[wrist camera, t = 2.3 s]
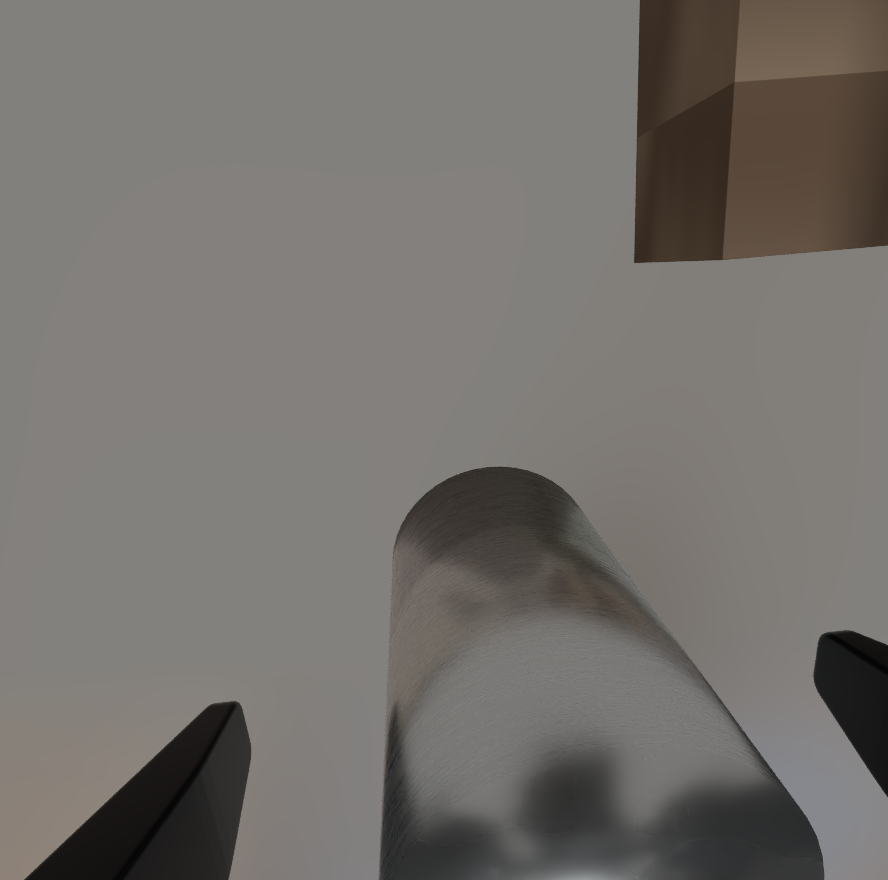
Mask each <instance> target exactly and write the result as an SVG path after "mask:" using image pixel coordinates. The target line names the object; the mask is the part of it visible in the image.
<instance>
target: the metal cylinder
mask: <svg viewBox="0 0 888 880" xmlns="http://www.w3.org/2000/svg"><path fill="white" fill-rule="evenodd" d="M386 703H387V704H386V726H385V748H384V749H385V750H384V772H383V797H382V818H381V839H380V842H381V843H380V862H379V863H380V864H379V880H824V867H823V857H822V853H821V849H820V846H819V842H818V839H817V836H816V834H815V832H814V830H813V828H812V826H811V825H810V823H809V821H808V819H807V817H806V816H805V815H804V813H803V811H802V810H801V809H800V807H799V806H798V805H797V803H796V802H795V801H794V799H793V798H792V797H791V795H790V794H789V792H788V791H787V790H786V788H785V787H784V786H783V784H782V783H781V782H780V780H779V779H778V777H777V776H776V775H775V773H774V772H773V771H772V769H771V768H770V767H769V765H768V764H767V762H766V761H765V760H764V758H763V757H762V756H761V754H760V753H759V752H758V750H757V749H756V747H755V746H754V745H753V743H752V742H751V741H750V739H749V738H748V737H747V735H746V734H745V732H744V731H743V730H742V728H741V727H740V726H739V724H738V723H737V722H736V720H735V719H734V717H733V716H732V715H731V713H730V712H729V711H728V710H727V708H726V707H725V705H724V704H723V703H722V701H721V700H720V699H719V697H718V696H717V694H716V693H715V692H714V690H713V689H712V688H711V686H710V685H709V683H708V682H707V681H706V679H705V678H704V677H703V675H702V674H701V673H700V671H699V670H698V669H697V667H696V666H695V664H694V663H693V662H692V660H691V659H690V658H689V656H688V655H687V653H686V652H685V651H684V649H683V648H682V647H681V645H680V644H679V643H678V641H677V640H676V638H675V637H674V636H673V634H672V633H671V632H670V630H669V629H668V628H667V626H666V625H665V623H664V622H663V621H662V619H661V618H660V617H659V615H658V614H657V613H656V611H655V610H654V609H653V607H652V606H651V605H650V603H649V602H648V600H647V599H646V598H645V596H644V595H643V594H642V592H641V591H640V590H639V588H638V587H637V585H636V584H635V583H634V581H633V580H632V579H631V577H630V576H629V575H628V573H627V572H626V570H625V569H624V568H623V566H622V565H621V564H620V562H619V561H618V559H617V558H616V557H615V555H614V554H613V553H612V551H611V550H610V549H609V547H608V546H607V544H606V543H605V542H604V541H603V539H602V538H601V537H600V535H599V534H598V532H597V531H596V530H595V528H594V527H593V525H592V524H591V523H590V522H589V520H588V519H587V517H586V516H585V515H584V513H583V512H582V511H581V509H580V508H579V506H578V505H577V504H576V503H575V501H574V500H573V499H572V497H571V496H570V495H569V494H567V493H566V492H565V491H564V490H563V489H562V488H561V487H559V486H558V485H557V484H555V483H554V482H552V481H550V480H549V479H547V478H545V477H543V476H541V475H539V474H535V473H533V472H530V471H527V470H522V469H518V468H510V467H487V468H481V469H474V470H471V471H467V472H464V473H461V474H459V475H456V476H453V477H451V478H449V479H447V480H446V481H443V482H442V483H440V484H438V485H437V486H435V487H434V488H433V489H432V490H430V491H429V492H427V493H426V494H425V495H424V496H423V497H422V498H421V499H420V500H419V501H418V502H417V503H416V504H415V505H414V506H413V508H412V509H411V510H410V512H409V513H408V514H407V516H406V518H405V520H404V521H403V523H402V525H401V527H400V530H399V532H398V535H397V538H396V542H395V546H394V553H393V566H392V588H391V612H390V634H389V658H388V680H387V702H386Z"/></svg>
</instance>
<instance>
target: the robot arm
mask: <svg viewBox="0 0 888 880" xmlns="http://www.w3.org/2000/svg"><path fill="white" fill-rule="evenodd" d="M814 683H815V686H816V688H817V691H818V693H819V694H820V696H821V698H822V699H823V701H824V702H825V703H826V705H827V707H828V708H829V710H830V711H831V713H832V714H833V716H834V717H835V719H836V720H837V722H838V724H839V725H840V727H841V728H842V730H843V731H844V732H845V734H846V736H847V737H848V739H849V740H850V742H851V743H852V745H853V746H854V748H855V749H856V751H857V752H858V754H859V755H860V757H861V759H862V760H863V762H864V763H865V765H866V766H867V768H868V769H869V771H870V772H871V774H872V775H873V777H874V778H875V780H876V781H877V783H878V784H879V785H880V787H881V788H882V790H883V791H884V793H885V794H886V795H887V797H888V645H886V644H884V643H881V642H879V641H876V640H874V639H871V638H869V637H866V636H863V635H861V634H859V633H856V632H853V631H849V630H844V631H834V632H827V633H824V634H822V635H821V637H820V638H819V641H818V647H817V654H816V660H815V667H814ZM250 760H251V743H250V739H249V734H248V730H247V726H246V722H245V718H244V714H243V709H242V707H241V705H240V703H238V702H236V701H231V702H223V703H214V704H211V705H210V706H208V707H207V708H206V709H205V710H204V711H203V712H201V713H200V714H199V715H198V716H197V717H196V718H195V719H194V720H193V721H192V722H191V723H190V724H189V725H188V726H187V727H185V729H183V730H182V731H181V732H180V733H179V734H178V735H177V736H176V737H175V738H174V739H173V740H172V741H171V742H170V743H169V744H167V745H166V746H165V747H164V748H163V749H162V750H161V751H160V752H159V753H158V754H157V755H156V756H155V757H154V758H153V759H152V760H151V761H150V762H148V763H147V764H146V765H145V766H144V767H143V768H142V769H141V770H140V771H139V772H138V773H137V774H136V775H135V776H134V777H132V778H131V779H130V780H129V781H128V782H127V783H126V784H125V785H124V786H123V787H122V788H121V789H120V790H119V791H118V792H117V793H116V794H114V795H113V796H112V798H110V799H109V800H108V801H107V802H106V803H105V804H104V805H103V806H102V807H101V808H100V809H99V810H97V811H96V812H95V813H94V814H93V815H92V816H91V817H90V818H89V819H88V820H87V821H86V822H85V823H84V824H83V825H82V826H81V827H80V828H78V829H77V830H76V831H75V832H74V833H73V834H72V835H71V836H70V837H69V838H68V839H67V840H66V841H65V842H64V843H62V845H60V846H59V847H58V848H57V849H56V850H55V851H54V852H53V853H52V854H51V855H50V856H49V857H48V858H47V859H46V860H44V861H43V862H42V863H41V864H40V865H39V866H38V867H37V868H36V869H35V870H34V871H33V872H32V873H31V874H30V875H29V876H28V877H27V878H25V879H24V880H228V879H229V875H230V870H231V865H232V860H233V855H234V850H235V844H236V839H237V833H238V827H239V822H240V817H241V811H242V806H243V799H244V794H245V788H246V783H247V778H248V772H249V766H250Z"/></svg>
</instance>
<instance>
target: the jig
mask: <svg viewBox="0 0 888 880" xmlns="http://www.w3.org/2000/svg"><path fill="white" fill-rule="evenodd" d="M639 26H640V27H639V71H638V115H637V116H638V117H637V118H638V119H637V163H636V209H635V254H634V263H644V262H675V261H704V260H727V259H739V258H750V257H761V256H772V255H783V254H795V253H807V252H817V251H830V250H841V249H853V248H864V247H875V246H887V245H888V0H640V23H639Z"/></svg>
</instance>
